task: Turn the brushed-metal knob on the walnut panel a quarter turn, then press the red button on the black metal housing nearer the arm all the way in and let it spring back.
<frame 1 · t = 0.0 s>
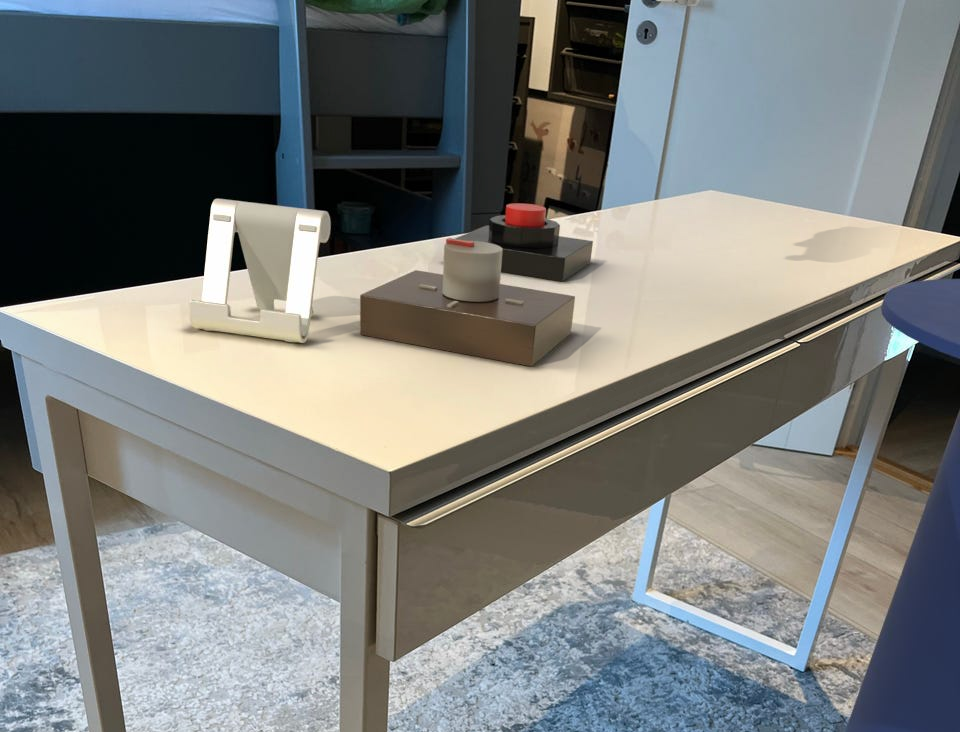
hand: (676, 4, 83), 23 cm above the table, tool pointing down, fingers open, 8 cm apart
tablet stand: (266, 328, 74), on the table
dial: (472, 268, 73), point 5 cm above the table, hinge at 0.0°
panel: (468, 334, 75), on the table
button: (525, 216, 96), point 4 cm above the table, slide at 0.1 cm
button box: (521, 263, 98), on the table
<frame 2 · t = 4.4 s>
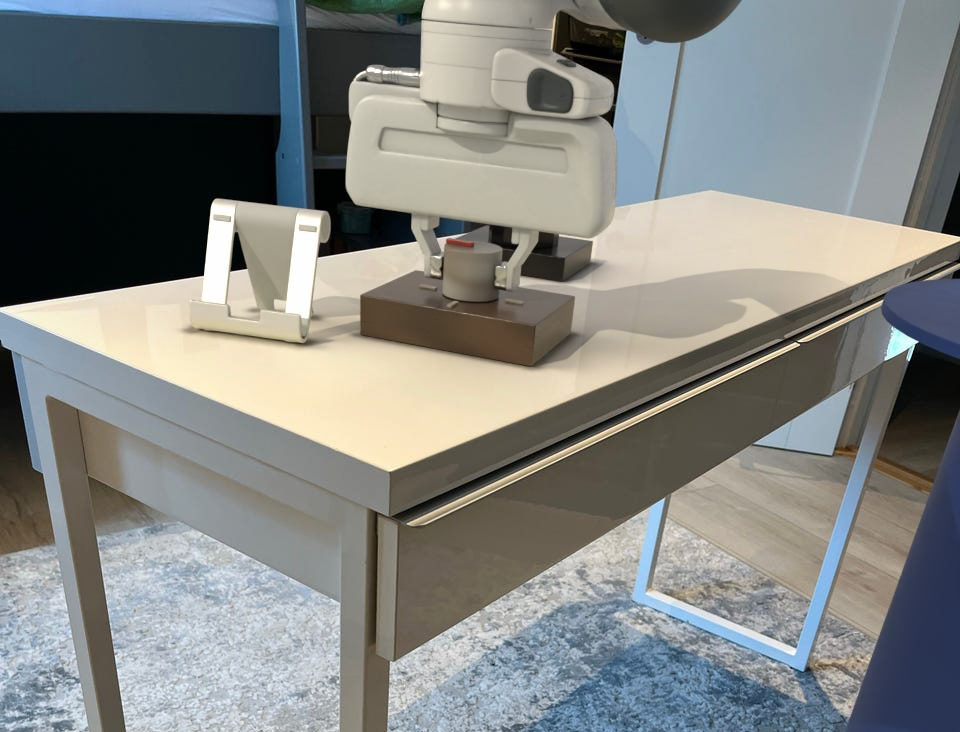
hand: (471, 283, 73), 4 cm above the table, tool pointing down, fingers closed on dial, 4 cm apart
dial: (472, 268, 73), point 5 cm above the table, hinge at 0.2°, touching gripper
everything else where it was.
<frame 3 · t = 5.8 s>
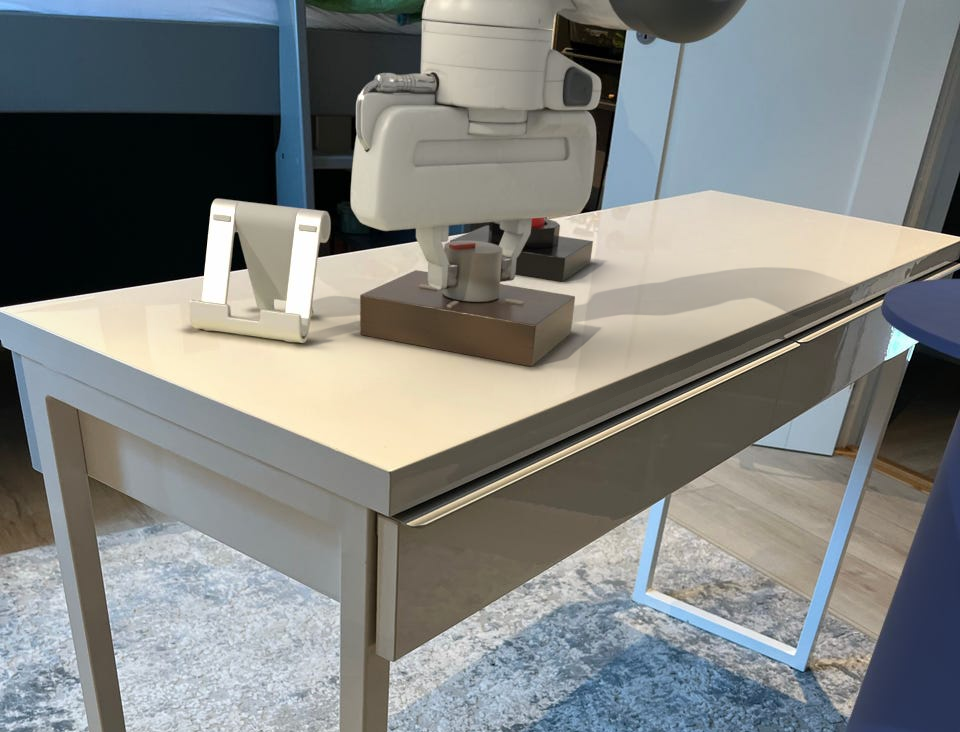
hand: (472, 283, 73), 4 cm above the table, tool pointing down, fingers closed on dial, 4 cm apart
dial: (472, 268, 73), point 5 cm above the table, hinge at 61.7°, touching gripper
everything else where it was.
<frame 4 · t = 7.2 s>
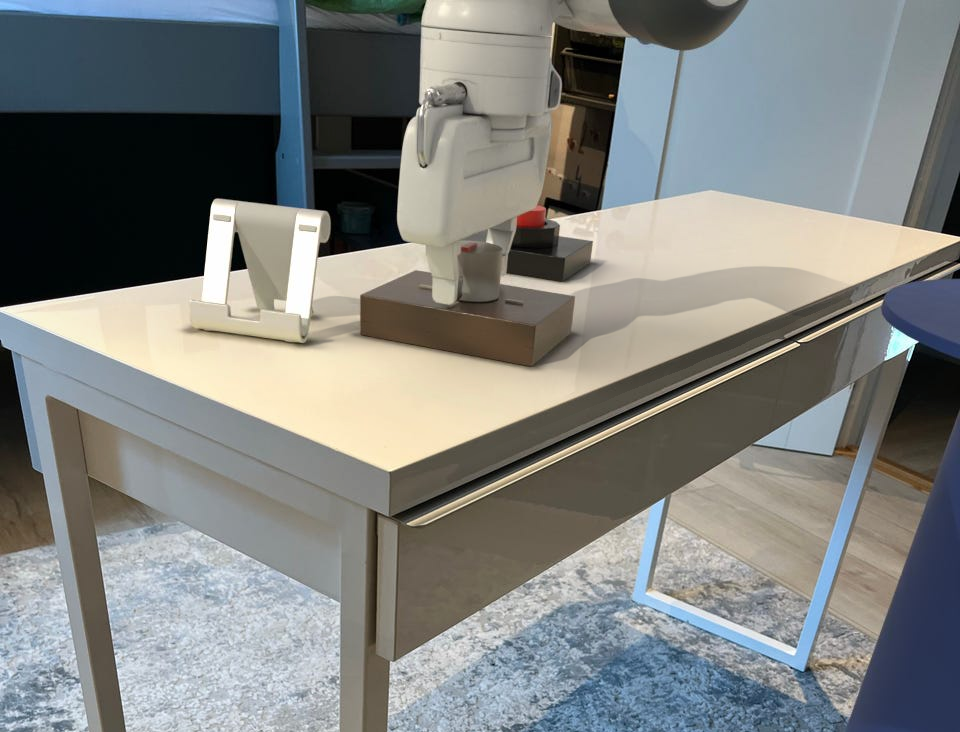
hand: (470, 288, 73), 3 cm above the table, tool pointing down, fingers open, 8 cm apart
dial: (472, 268, 73), point 5 cm above the table, hinge at 92.9°
everything else where it was.
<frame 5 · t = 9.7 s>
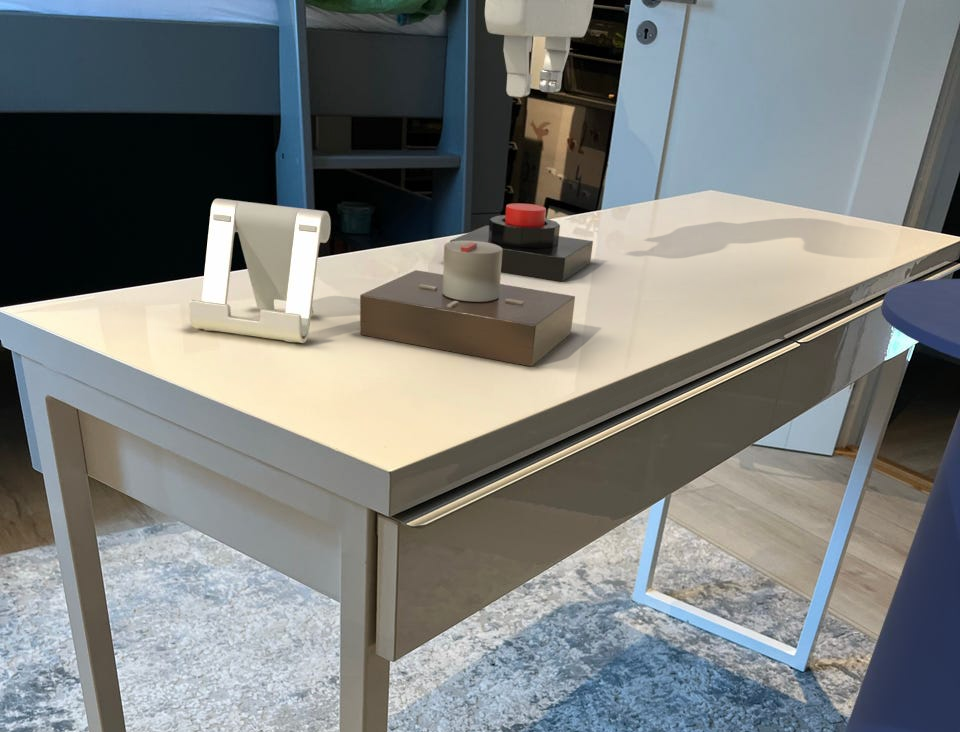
hand: (534, 94, 89), 15 cm above the table, tool pointing down, fingers open, 8 cm apart
nothing on the table moved.
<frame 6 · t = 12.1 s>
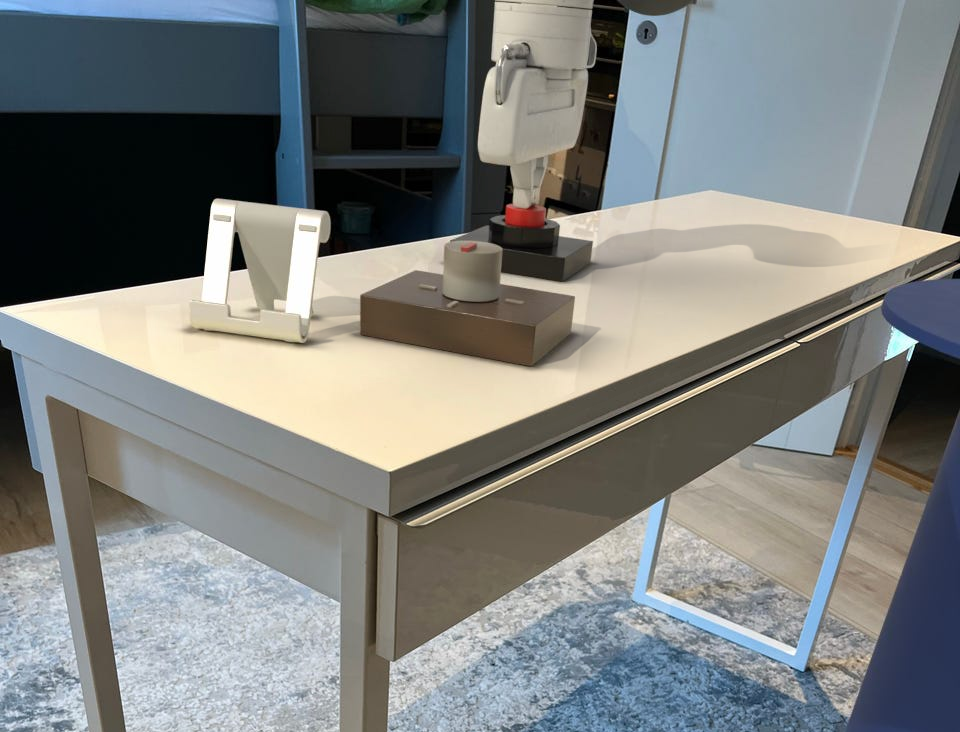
hand: (525, 206, 95), 5 cm above the table, tool pointing down, fingers closed, pressing on button
button: (525, 216, 96), point 4 cm above the table, slide at 0.1 cm, touching gripper
everything else where it was.
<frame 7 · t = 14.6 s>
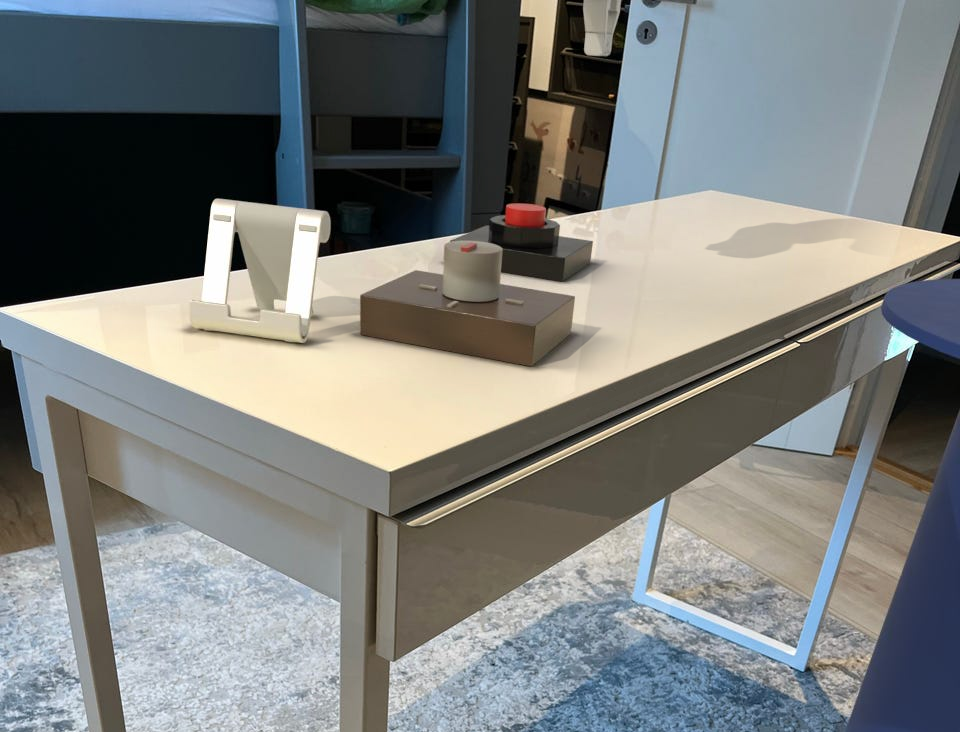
hand: (597, 55, 87), 19 cm above the table, tool pointing down, fingers closed
button: (525, 216, 96), point 4 cm above the table, slide at 0.1 cm
everything else where it was.
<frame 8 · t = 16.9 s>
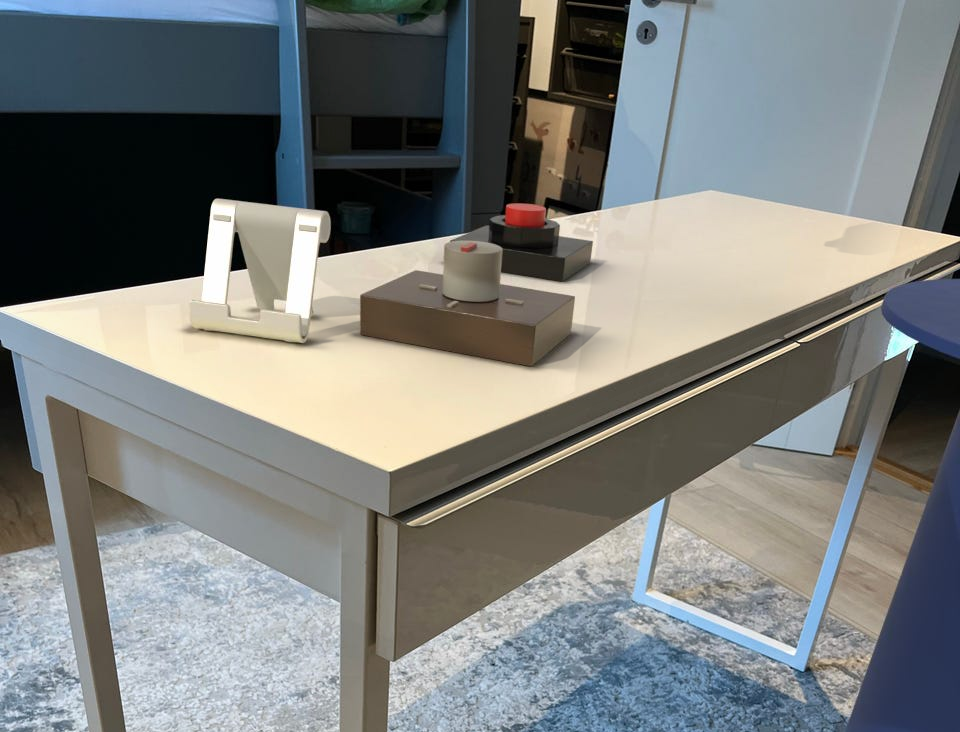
nothing on the table moved.
at the end: dial at +93° (first picture: +0°); button pushed in 1.0 cm at the most during the clip, back to where it started at the end; button slide at 0.1 cm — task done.
